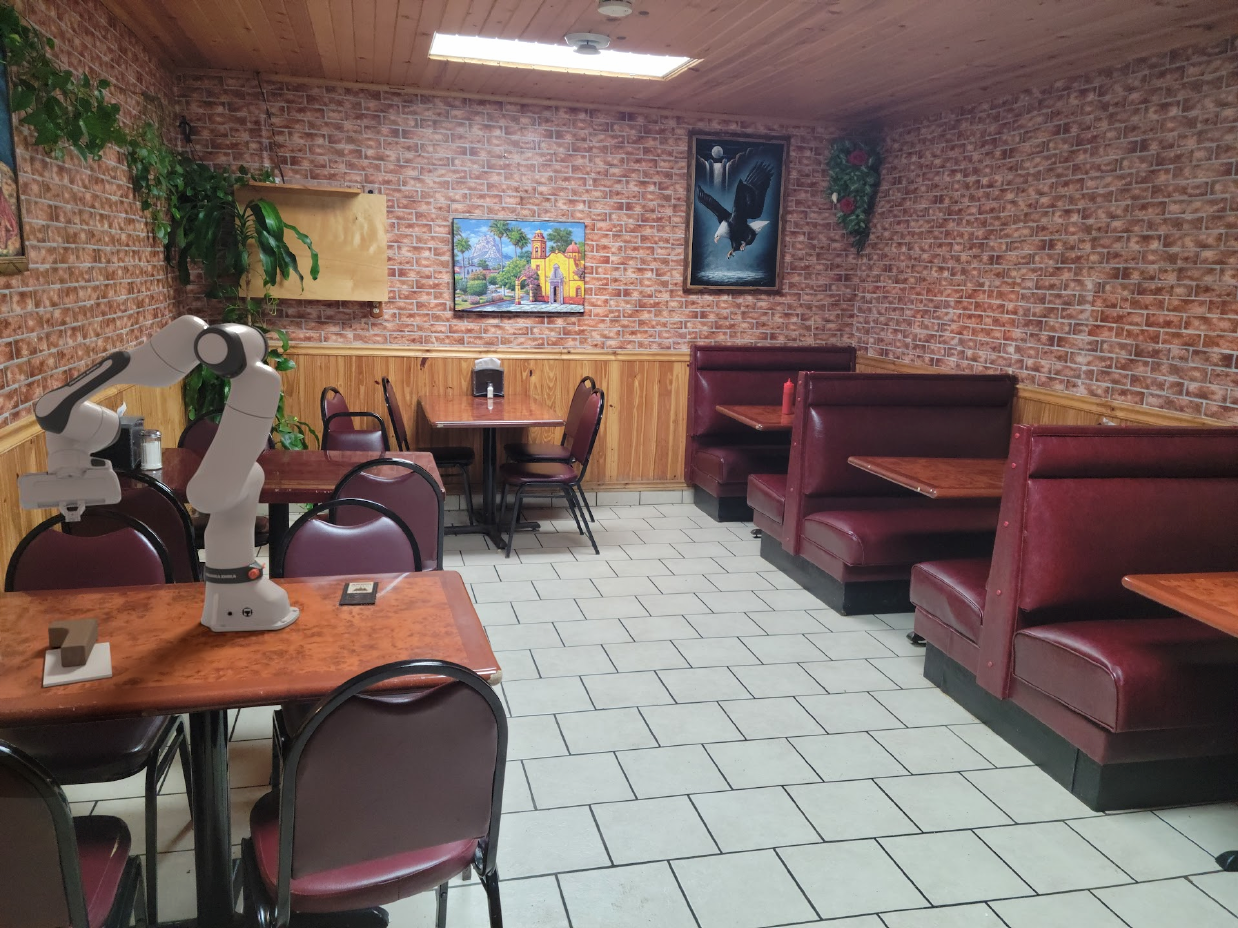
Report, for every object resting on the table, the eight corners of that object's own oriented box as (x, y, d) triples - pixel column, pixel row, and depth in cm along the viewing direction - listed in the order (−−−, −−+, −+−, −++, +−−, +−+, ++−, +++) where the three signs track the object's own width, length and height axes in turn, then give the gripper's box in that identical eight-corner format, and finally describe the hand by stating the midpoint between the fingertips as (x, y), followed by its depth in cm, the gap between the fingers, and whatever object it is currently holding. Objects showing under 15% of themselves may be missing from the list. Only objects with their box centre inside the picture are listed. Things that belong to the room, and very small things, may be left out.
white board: (46, 653, 199) (46, 650, 199) (109, 644, 205) (109, 641, 205) (43, 687, 182) (43, 684, 182) (112, 676, 188) (111, 673, 188)
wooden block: (53, 640, 205) (36, 670, 188) (51, 621, 204) (34, 649, 188) (98, 636, 208) (86, 665, 192) (97, 617, 207) (84, 645, 191)
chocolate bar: (338, 603, 236) (344, 583, 253) (338, 607, 236) (345, 586, 253) (374, 602, 238) (378, 581, 255) (374, 606, 238) (378, 585, 255)
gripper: (15, 465, 208) (17, 516, 201) (118, 460, 218) (123, 508, 211) (18, 481, 212) (20, 531, 205) (118, 475, 222) (123, 523, 216)
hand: (73, 520), depth 208 cm, fingers closed
